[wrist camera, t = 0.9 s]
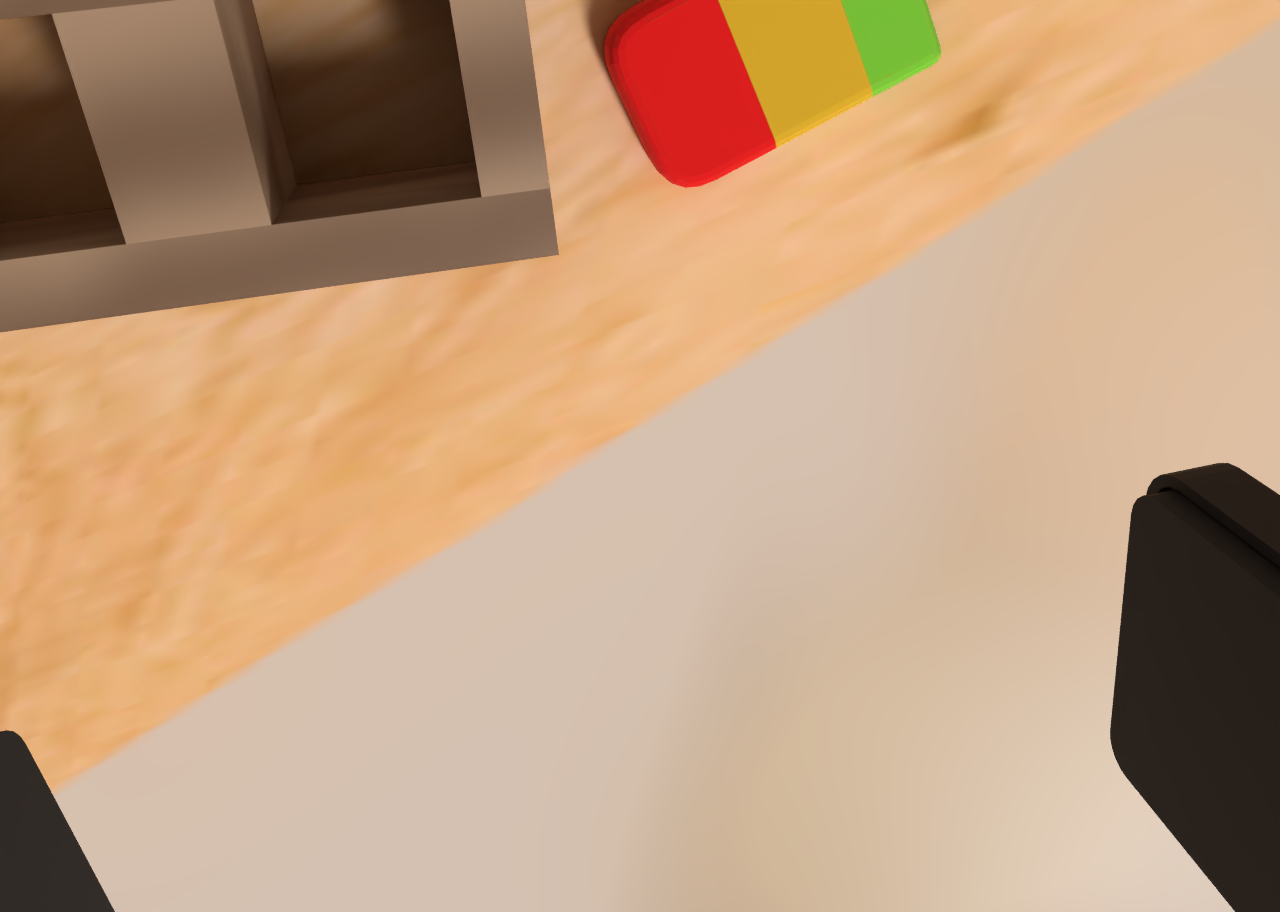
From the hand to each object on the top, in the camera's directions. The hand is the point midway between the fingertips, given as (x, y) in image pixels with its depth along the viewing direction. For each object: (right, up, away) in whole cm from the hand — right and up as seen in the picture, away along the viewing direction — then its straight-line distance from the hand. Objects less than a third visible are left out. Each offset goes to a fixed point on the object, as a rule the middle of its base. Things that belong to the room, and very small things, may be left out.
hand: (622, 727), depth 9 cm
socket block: (-12, +13, +21) cm, 27 cm away
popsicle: (+6, +16, +23) cm, 29 cm away
